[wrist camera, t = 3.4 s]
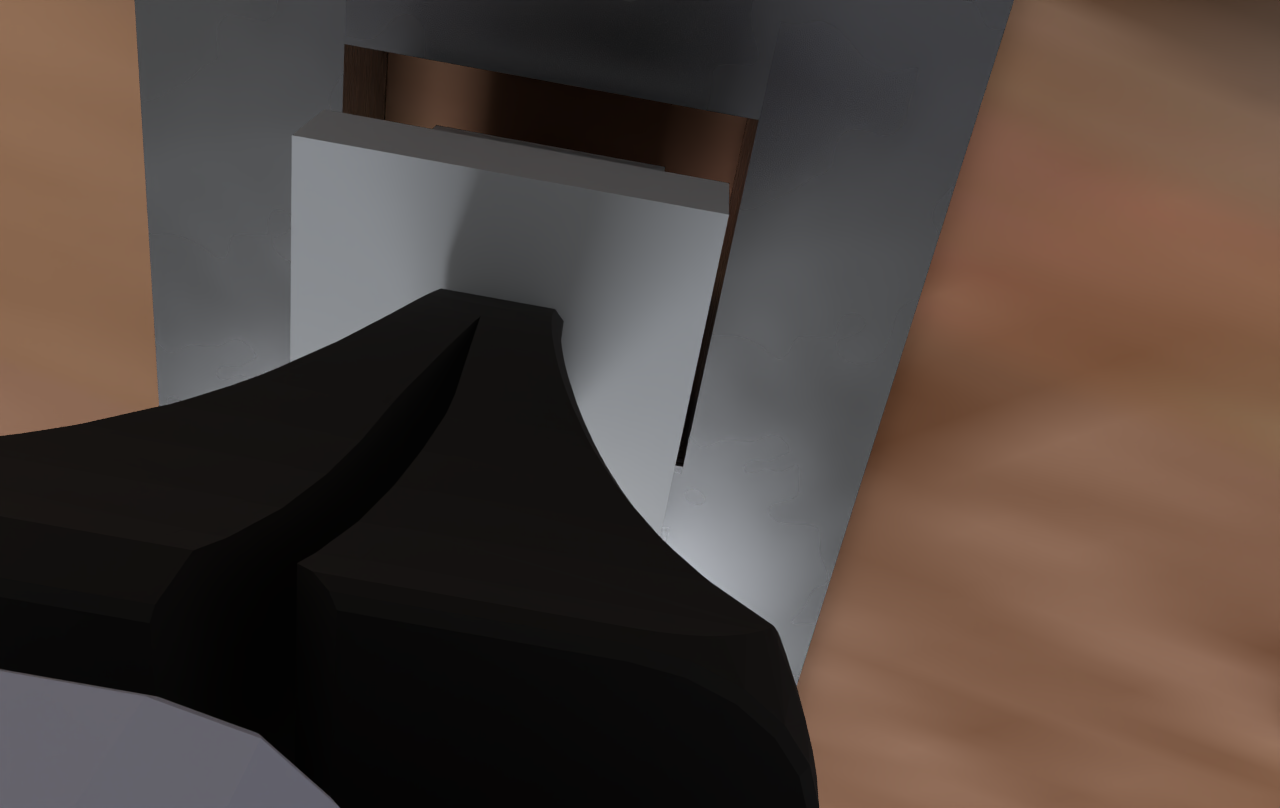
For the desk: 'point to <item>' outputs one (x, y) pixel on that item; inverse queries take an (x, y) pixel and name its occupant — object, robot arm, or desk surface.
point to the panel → (752, 247)
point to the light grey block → (518, 262)
